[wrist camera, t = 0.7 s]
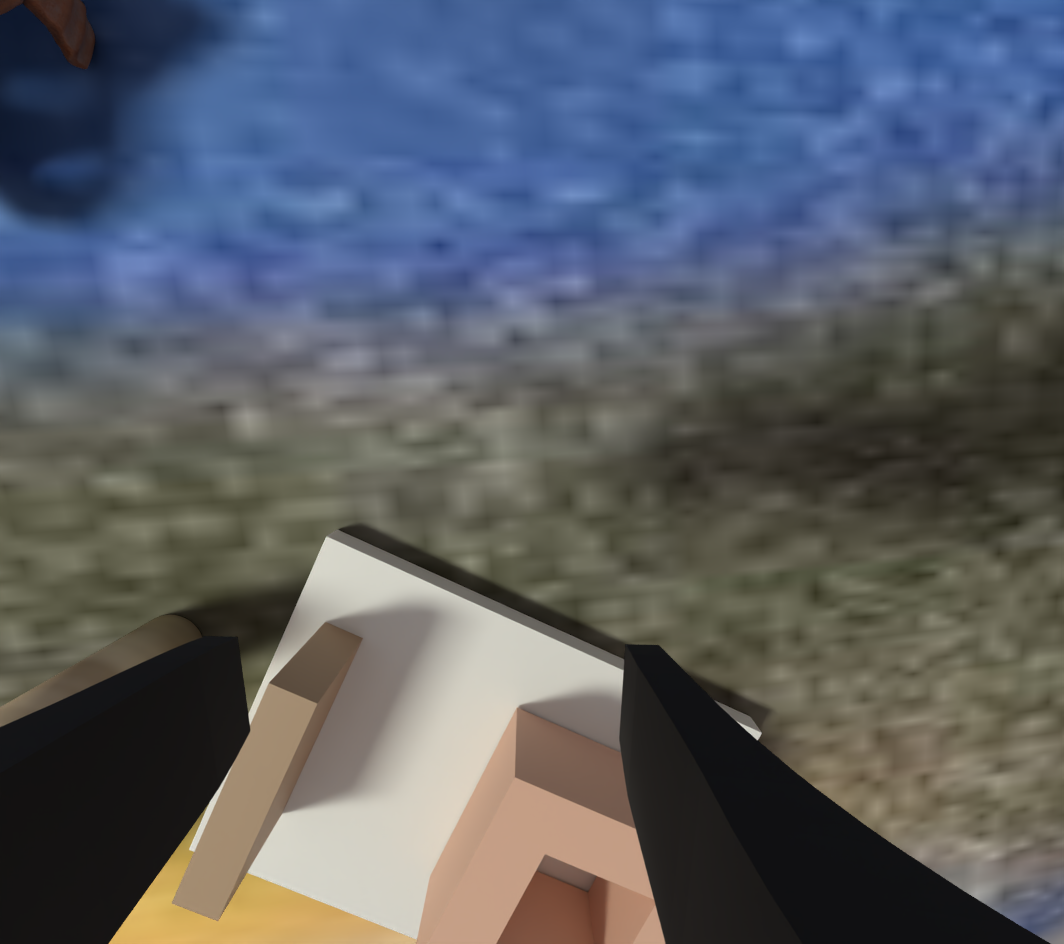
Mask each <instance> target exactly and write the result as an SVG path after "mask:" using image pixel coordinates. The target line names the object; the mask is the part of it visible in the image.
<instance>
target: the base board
mask: <svg viewBox="0 0 1064 944" xmlns="http://www.w3.org/2000/svg"><path fill="white" fill-rule="evenodd" d="M623 672H624V659H622V658H620V657H618V656H615V655H613V654H611V653H609V652H607V651H604V650H602V649H600V648H598V647H596V646H593V645H591V644H589V643H587V642H585V641H582V640H580V639H578V638H576V637H574V636H571V635H569V634H567V633H565V632H563V631H560V630H558V629H556V628H554V627H551V626H549V625H547V624H545V623H543V622H540V621H538V620H536V619H534V618H532V617H529V616H527V615H525V614H523V613H521V612H518V611H516V610H514V609H512V608H510V607H507V606H505V605H503V604H501V603H499V602H496V601H494V600H492V599H490V598H487V597H485V596H483V595H481V594H479V593H476V592H474V591H472V590H470V589H468V588H465V587H463V586H461V585H459V584H457V583H454V582H452V581H450V580H448V579H446V578H443V577H441V576H439V575H437V574H435V573H432V572H430V571H428V570H426V569H423V568H421V567H419V566H417V565H415V564H412V563H410V562H408V561H406V560H404V559H401V558H399V557H397V556H395V555H393V554H390V553H388V552H386V551H384V550H382V549H379V548H377V547H375V546H373V545H371V544H368V543H366V542H364V541H362V540H359V539H357V538H355V537H353V536H351V535H348V534H346V533H344V532H342V531H340V530H335V531H334V532H332V533H331V534H329V535H328V536H326V539H325V541H324V543H323V545H322V548H321V550H320V552H319V555H318V557H317V559H316V561H315V564H314V566H313V568H312V571H311V573H310V575H309V577H308V580H307V582H306V584H305V586H304V589H303V591H302V593H301V596H300V598H299V600H298V602H297V605H296V607H295V609H294V612H293V614H292V616H291V618H290V621H289V623H288V625H287V628H286V630H285V632H284V634H283V637H282V639H281V641H280V643H279V646H278V648H277V650H276V653H275V655H274V657H273V659H272V662H271V664H270V666H269V669H268V671H267V673H266V675H265V678H264V680H263V682H262V685H261V687H260V689H259V691H258V694H257V696H256V698H255V700H254V703H253V705H252V707H251V710H250V712H249V714H248V716H249V723H250V730H251V731H250V733H249V735H248V737H247V739H246V741H245V743H244V744H243V746H242V748H241V750H240V752H239V754H238V756H237V758H236V760H235V761H234V763H233V765H232V767H231V768H230V770H229V772H228V774H227V775H226V777H225V779H224V781H223V782H222V784H221V786H220V787H219V789H218V790H217V792H216V793H215V795H214V796H213V798H212V799H211V801H210V803H209V805H208V808H207V810H206V812H205V814H204V817H203V819H202V821H201V824H200V826H199V828H198V830H197V833H196V835H195V837H194V840H193V842H192V844H191V846H190V849H189V850H191V851H194V854H193V856H192V858H191V861H190V863H189V865H188V867H187V870H186V872H185V874H184V876H183V879H182V881H181V883H180V886H179V888H178V890H177V892H176V895H175V897H174V899H173V901H172V904H175V905H177V906H180V907H183V908H185V909H188V910H190V911H193V912H195V913H198V914H201V915H203V916H206V917H208V918H211V919H214V920H216V921H218V920H219V919H220V917H221V915H222V914H223V912H224V910H225V909H226V907H227V905H228V904H229V902H230V900H231V899H232V897H233V895H234V894H235V892H236V890H237V889H238V887H239V885H240V884H241V882H242V880H243V879H244V877H245V875H246V873H250V874H252V875H255V876H257V877H260V878H262V879H265V880H267V881H270V882H272V883H275V884H277V885H280V886H282V887H285V888H288V889H290V890H293V891H295V892H298V893H300V894H303V895H305V896H308V897H310V898H313V899H315V900H318V901H320V902H323V903H325V904H328V905H331V906H333V907H336V908H338V909H341V910H343V911H346V912H348V913H351V914H353V915H356V916H358V917H361V918H363V919H366V920H369V921H371V922H374V923H376V924H379V925H381V926H384V927H386V928H389V929H391V930H394V931H396V932H399V933H401V934H404V935H406V936H409V937H412V938H414V939H417V937H418V932H419V927H420V922H421V917H422V913H423V908H424V903H425V898H426V893H427V888H428V883H429V878H430V875H431V873H432V871H433V869H434V867H435V865H436V864H437V862H438V860H439V858H440V856H441V854H442V852H443V850H444V848H445V846H446V844H447V842H448V840H449V838H450V836H451V834H452V832H453V830H454V829H455V827H456V825H457V823H458V821H459V819H460V817H461V815H462V813H463V811H464V809H465V807H466V805H467V803H468V801H469V799H470V797H471V796H472V794H473V792H474V790H475V788H476V786H477V784H478V782H479V780H480V778H481V776H482V774H483V772H484V770H485V768H486V766H487V764H488V762H489V761H490V759H491V757H492V755H493V753H494V751H495V749H496V747H497V745H498V743H499V741H500V739H501V737H502V735H503V733H504V731H505V729H506V728H507V726H508V724H509V722H510V720H511V718H512V716H513V714H514V712H515V710H516V708H520V709H522V710H524V711H527V712H529V713H531V714H533V715H536V716H538V717H540V718H543V719H545V720H547V721H549V722H552V723H554V724H556V725H559V726H561V727H563V728H565V729H568V730H570V731H572V732H575V733H577V734H579V735H581V736H584V737H586V738H588V739H591V740H593V741H595V742H597V743H600V744H602V745H604V746H606V747H609V748H611V749H613V750H616V751H618V752H620V753H621V749H620V742H619V732H620V717H621V702H622V687H623ZM714 701H715V700H714ZM715 702H716V703H717V704H718V705H719V706H720V707H721V708H723V709H724V710H725V711H726V712H727V713H728V714H729V715H730V716H731V717H732V718H733V719H734V720H735V721H736V722H738V723H739V724H740V725H741V726H742V727H743V728H744V729H745V730H746V731H748V732H749V733H750V734H751V735H752V736H753V737H754V738H755V739H756V740H758V739H759V737H760V736H761V734H762V732H761V731H760V729H759V728H758V727H757V725H756V724H755V722H754V721H753V720H752V718H751V717H750V716H748V715H746V714H744V713H741V712H739V711H737V710H735V709H732V708H730V707H728V706H726V705H724V704H721V703H719V702H717V701H715ZM536 871H538V872H540V873H542V874H545V875H547V876H550V877H552V878H555V879H557V880H559V881H562V882H564V883H567V884H569V885H571V886H574V887H576V888H579V889H581V890H584V891H586V892H588V891H589V889H590V888H591V886H592V884H593V882H594V880H595V879H596V877H597V876H596V875H594V874H591V873H589V872H586V871H584V870H582V869H579V868H577V867H574V866H572V865H570V864H567V863H565V862H562V861H560V860H558V859H555V858H553V857H550V856H548V855H546V854H545V855H544V857H543V859H542V861H541V862H540V864H539V866H538V868H537V870H536Z"/></svg>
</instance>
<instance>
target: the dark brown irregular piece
mask: <svg viewBox="0 0 1064 944" xmlns="http://www.w3.org/2000/svg"><path fill="white" fill-rule="evenodd" d="M22 3H23V4H24V5H25V6H26V7H27V8H28V9H29V10H30V11H31V12H32V13H33V14H34V15H35V16H36V17H37V18H38V19H39V20H40V21H41V22H42V23H43V24H44V25H45V26H46V27H47V29H48V31H49V32H50V33H51V34H52V36H53V38H54V40H55V42H56V43H57V45H58V46H59V47H60V49H61V51H62V53H63V55H64V56H65V58H66V59H67V61H68V62H69V63H70V64H72V65H73V66H76V67H79V68H82V69H87V68H88V66H89V64H90V61H91V58H92V54H93V50H94V45H95V35H94V32H93V29H92V27H91V25H90V23H89V21H88V19H87V15H86V7H85V5H84V3H83V2H82V1H81V0H0V15H2V14H4V13H7V12H8V11H10V10H12V9H14V8H15V7H16V6H19V5H21V4H22Z"/></svg>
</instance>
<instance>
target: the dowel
mask: <svg viewBox="0 0 1064 944" xmlns="http://www.w3.org/2000/svg"><path fill="white" fill-rule="evenodd" d="M199 638H202V635H201V633H200V631H199V630H198V628H197V627H196V626H195V625H194V624H193V623H192V622H191V621H189V620H188V619H186V618H184V617H181V616H177V615H162V616H159V617H157V618H155V619H153V620H151V621H149V622H148V623H146V624H144V625H143V626H141V627H139V628H137V629H136V630H134V631H132V632H130V633H129V634H127V635H125V636H123V637H122V638H120V639H118V640H116V641H115V642H113V643H111V644H109V645H108V646H106V647H104V648H103V649H101V650H99V651H97V652H96V653H94V654H92V655H90V656H89V657H87V658H85V659H83V660H82V661H80V662H78V663H76V664H75V665H73V666H71V667H69V668H68V669H66V670H64V671H62V672H61V673H59V674H57V675H56V676H54V677H52V678H50V679H49V680H47V681H45V682H43V683H42V684H40V685H38V686H36V687H35V688H33V689H31V690H29V691H28V692H26V693H24V694H22V695H21V696H19V697H17V698H16V699H14V700H12V701H10V702H9V703H7V704H5V705H3V706H2V707H0V727H1V726H4V725H6V724H8V723H10V722H13V721H15V720H17V719H20V718H22V717H24V716H26V715H29V714H31V713H33V712H35V711H38V710H40V709H42V708H45V707H47V706H49V705H51V704H54V703H56V702H58V701H60V700H62V699H65V698H67V697H69V696H71V695H73V694H75V693H77V692H80V691H82V690H84V689H86V688H88V687H90V686H93V685H95V684H97V683H99V682H101V681H103V680H105V679H108V678H110V677H112V676H114V675H116V674H118V673H121V672H123V671H125V670H127V669H129V668H131V667H133V666H136V665H138V664H140V663H142V662H144V661H147V660H149V659H151V658H153V657H155V656H158V655H160V654H162V653H164V652H167V651H169V650H171V649H173V648H176V647H178V646H181V645H183V644H185V643H188V642H191V641H193V640H196V639H199Z"/></svg>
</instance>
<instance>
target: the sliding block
mask: <svg viewBox="0 0 1064 944" xmlns="http://www.w3.org/2000/svg"><path fill="white" fill-rule="evenodd" d="M545 854H546V855H548V856H550V857H553V858H555V859H558V860H560V861H562V862H565V863H567V864H570V865H572V866H574V867H577V868H579V869H582V870H584V871H586V872H589V873H591V874H594V875H596V876H597V877H596V879H595V880H594V882H593V884H592V886H591V888H590V889H589V891H588V892H586V891H584V890H581V889H579V888H576V887H574V886H571V885H569V884H567V883H564V882H562V881H559V880H557V879H555V878H552V877H550V876H547V875H545V874H542V873H540V872H538V871H536V870H537V868H538V866H539V864H540V862H541V861H542V859H543V857H544V855H545ZM416 944H665V940H664V936H663V932H662V928H661V924H660V921H659V917H658V913H657V909H656V905H655V901H654V898H653V894H652V890H651V886H650V882H649V878H648V874H647V871H646V867H645V863H644V859H643V855H642V851H641V848H640V844H639V840H638V836H637V832H636V828H635V824H634V820H633V816H632V812H631V808H630V804H629V800H628V796H627V789H626V783H625V776H624V770H623V763H622V756H621V753H620V752H618V751H616V750H613V749H611V748H609V747H606V746H604V745H602V744H600V743H597V742H595V741H593V740H591V739H588V738H586V737H584V736H581V735H579V734H577V733H575V732H572V731H570V730H568V729H565V728H563V727H561V726H559V725H556V724H554V723H552V722H549V721H547V720H545V719H543V718H540V717H538V716H536V715H533V714H531V713H529V712H527V711H524V710H522V709H520V708H516V710H515V712H514V714H513V716H512V718H511V720H510V722H509V724H508V726H507V728H506V729H505V731H504V733H503V735H502V737H501V739H500V741H499V743H498V745H497V747H496V749H495V751H494V753H493V755H492V757H491V759H490V761H489V762H488V764H487V766H486V768H485V770H484V772H483V774H482V776H481V778H480V780H479V782H478V784H477V786H476V788H475V790H474V792H473V794H472V796H471V797H470V799H469V801H468V803H467V805H466V807H465V809H464V811H463V813H462V815H461V817H460V819H459V821H458V823H457V825H456V827H455V829H454V830H453V832H452V834H451V836H450V838H449V840H448V842H447V844H446V846H445V848H444V850H443V852H442V854H441V856H440V858H439V860H438V862H437V864H436V865H435V867H434V869H433V871H432V873H431V875H430V878H429V883H428V888H427V893H426V898H425V903H424V908H423V913H422V917H421V922H420V927H419V932H418V937H417V942H416Z"/></svg>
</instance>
